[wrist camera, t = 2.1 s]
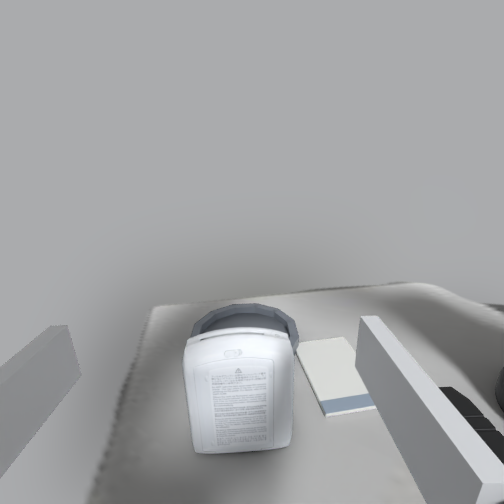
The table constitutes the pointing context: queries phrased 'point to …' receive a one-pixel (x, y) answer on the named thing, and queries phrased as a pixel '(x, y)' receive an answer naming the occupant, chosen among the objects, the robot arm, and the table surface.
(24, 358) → the robot arm
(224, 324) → the tray
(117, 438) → the table surface
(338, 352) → the notepad
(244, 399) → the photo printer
